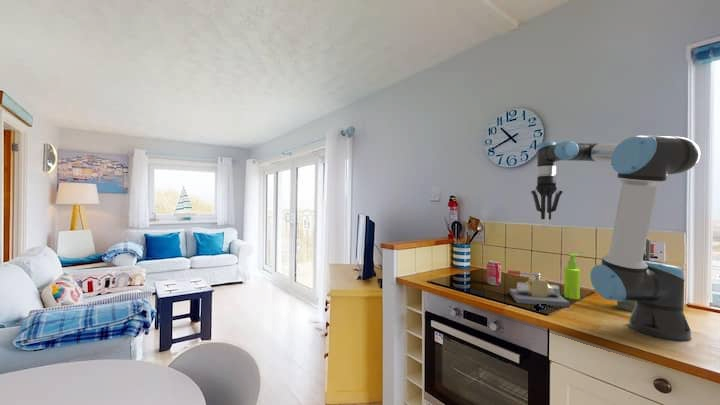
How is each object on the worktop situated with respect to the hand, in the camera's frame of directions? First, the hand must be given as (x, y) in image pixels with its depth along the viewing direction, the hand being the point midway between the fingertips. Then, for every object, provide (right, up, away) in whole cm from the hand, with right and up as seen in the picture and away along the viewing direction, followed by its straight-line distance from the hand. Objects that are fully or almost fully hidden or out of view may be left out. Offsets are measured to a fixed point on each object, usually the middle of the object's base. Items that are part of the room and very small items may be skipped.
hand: (545, 226), depth 146 cm
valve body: (-7, -31, -6) cm, 32 cm away
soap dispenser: (+12, -33, -1) cm, 35 cm away
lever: (-12, -22, -3) cm, 25 cm away
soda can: (-16, -32, +21) cm, 41 cm away
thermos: (+25, -33, -16) cm, 45 cm away
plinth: (-7, -32, -6) cm, 33 cm away
